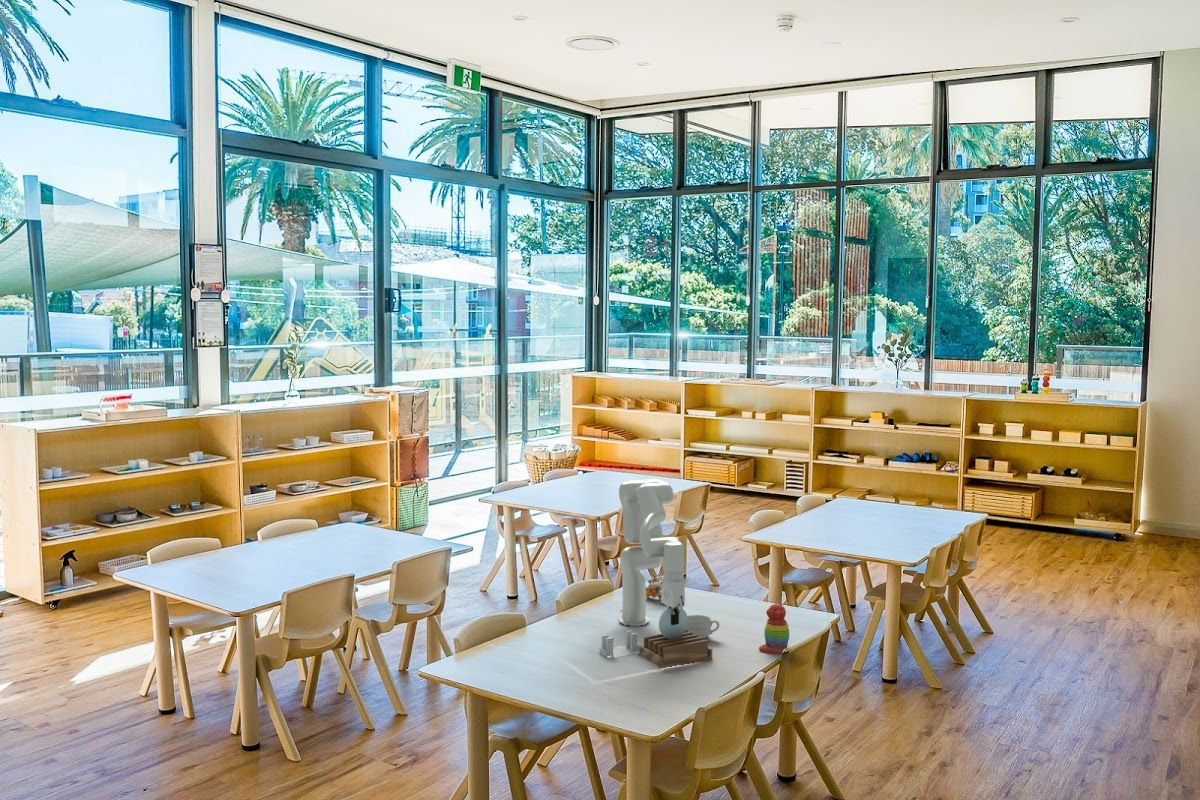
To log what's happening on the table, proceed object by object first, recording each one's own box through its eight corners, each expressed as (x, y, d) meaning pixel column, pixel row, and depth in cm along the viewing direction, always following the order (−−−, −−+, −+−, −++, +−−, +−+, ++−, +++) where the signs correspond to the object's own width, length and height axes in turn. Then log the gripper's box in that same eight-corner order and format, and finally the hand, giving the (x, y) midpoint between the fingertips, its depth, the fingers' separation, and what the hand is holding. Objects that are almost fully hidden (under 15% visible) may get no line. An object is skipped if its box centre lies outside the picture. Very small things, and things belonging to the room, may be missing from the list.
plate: (654, 633, 376) (665, 602, 377) (679, 641, 381) (690, 610, 383) (656, 635, 374) (667, 603, 376) (681, 642, 380) (692, 611, 381)
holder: (595, 653, 384) (595, 633, 383) (630, 646, 391) (630, 627, 390) (608, 661, 375) (608, 641, 374) (643, 654, 382) (643, 635, 381)
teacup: (679, 639, 399) (679, 619, 398) (690, 631, 409) (690, 612, 408) (712, 645, 393) (713, 624, 392) (722, 636, 402) (723, 617, 401)
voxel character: (655, 600, 458) (680, 590, 449) (646, 611, 450) (671, 601, 441) (641, 579, 457) (666, 569, 448) (632, 590, 449) (657, 580, 440)
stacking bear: (771, 643, 394) (771, 598, 392) (794, 649, 388) (795, 603, 386) (756, 650, 386) (757, 605, 384) (780, 656, 379) (781, 610, 378)
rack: (639, 656, 380) (639, 637, 379) (688, 646, 391) (688, 627, 390) (661, 670, 366) (661, 650, 365) (712, 659, 377) (712, 640, 376)
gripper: (653, 571, 382) (653, 619, 383) (676, 581, 368) (676, 631, 370) (670, 569, 385) (670, 616, 387) (693, 578, 372) (693, 627, 374)
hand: (673, 623), depth 378 cm, fingers closed on plate, 1 cm apart
